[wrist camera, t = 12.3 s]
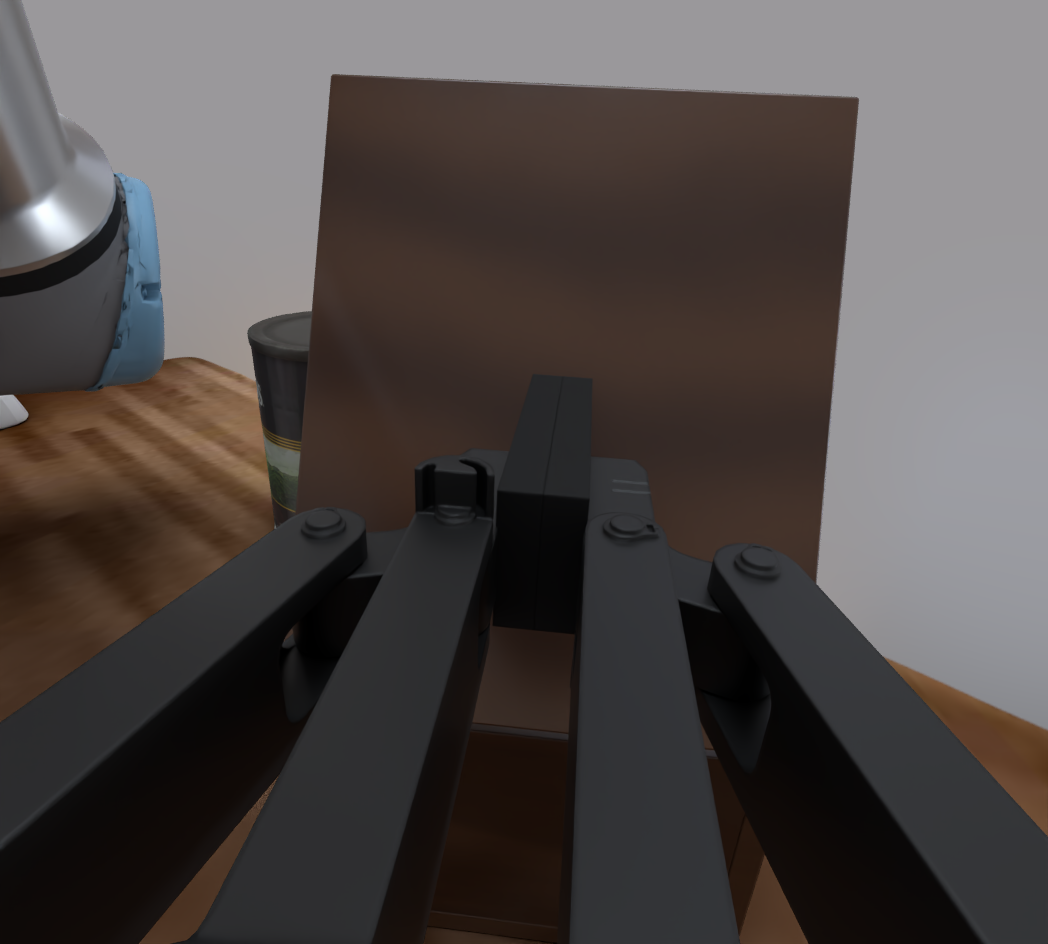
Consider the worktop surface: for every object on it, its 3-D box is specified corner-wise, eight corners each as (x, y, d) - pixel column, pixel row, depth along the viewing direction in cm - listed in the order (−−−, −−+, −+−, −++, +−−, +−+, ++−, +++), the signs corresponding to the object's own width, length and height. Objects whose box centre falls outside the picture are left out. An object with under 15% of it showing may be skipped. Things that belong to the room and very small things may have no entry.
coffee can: (248, 556, 43) (215, 342, 37) (305, 486, 52) (286, 305, 46) (405, 567, 42) (398, 353, 36) (434, 494, 52) (432, 314, 46)
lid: (339, 89, 19) (330, 72, 18) (847, 112, 18) (860, 95, 17) (290, 693, 19) (278, 702, 18) (791, 748, 18) (801, 761, 17)
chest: (426, 615, 38) (423, 468, 34) (675, 640, 37) (703, 492, 33) (314, 911, 23) (286, 709, 19) (730, 967, 22) (793, 767, 18)
